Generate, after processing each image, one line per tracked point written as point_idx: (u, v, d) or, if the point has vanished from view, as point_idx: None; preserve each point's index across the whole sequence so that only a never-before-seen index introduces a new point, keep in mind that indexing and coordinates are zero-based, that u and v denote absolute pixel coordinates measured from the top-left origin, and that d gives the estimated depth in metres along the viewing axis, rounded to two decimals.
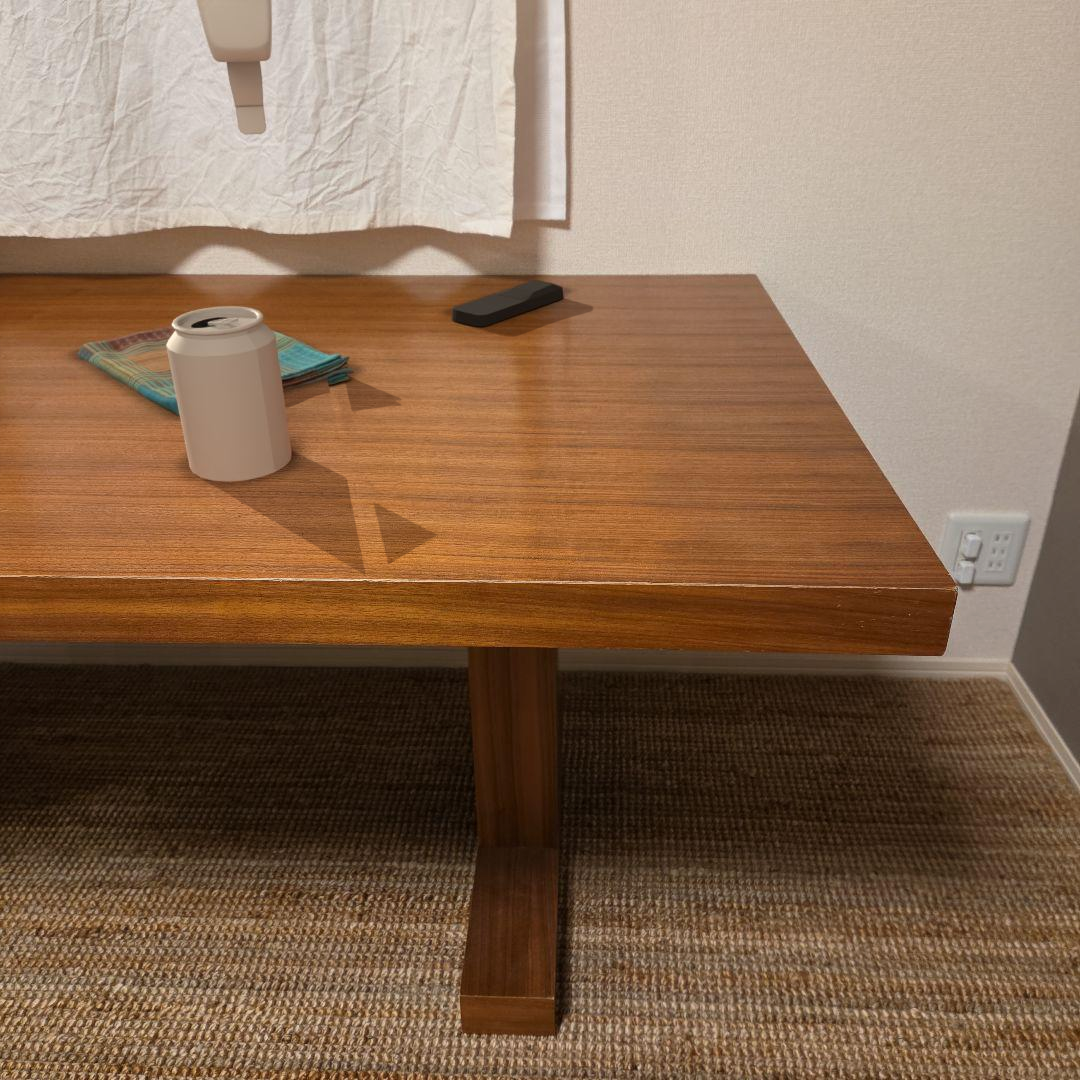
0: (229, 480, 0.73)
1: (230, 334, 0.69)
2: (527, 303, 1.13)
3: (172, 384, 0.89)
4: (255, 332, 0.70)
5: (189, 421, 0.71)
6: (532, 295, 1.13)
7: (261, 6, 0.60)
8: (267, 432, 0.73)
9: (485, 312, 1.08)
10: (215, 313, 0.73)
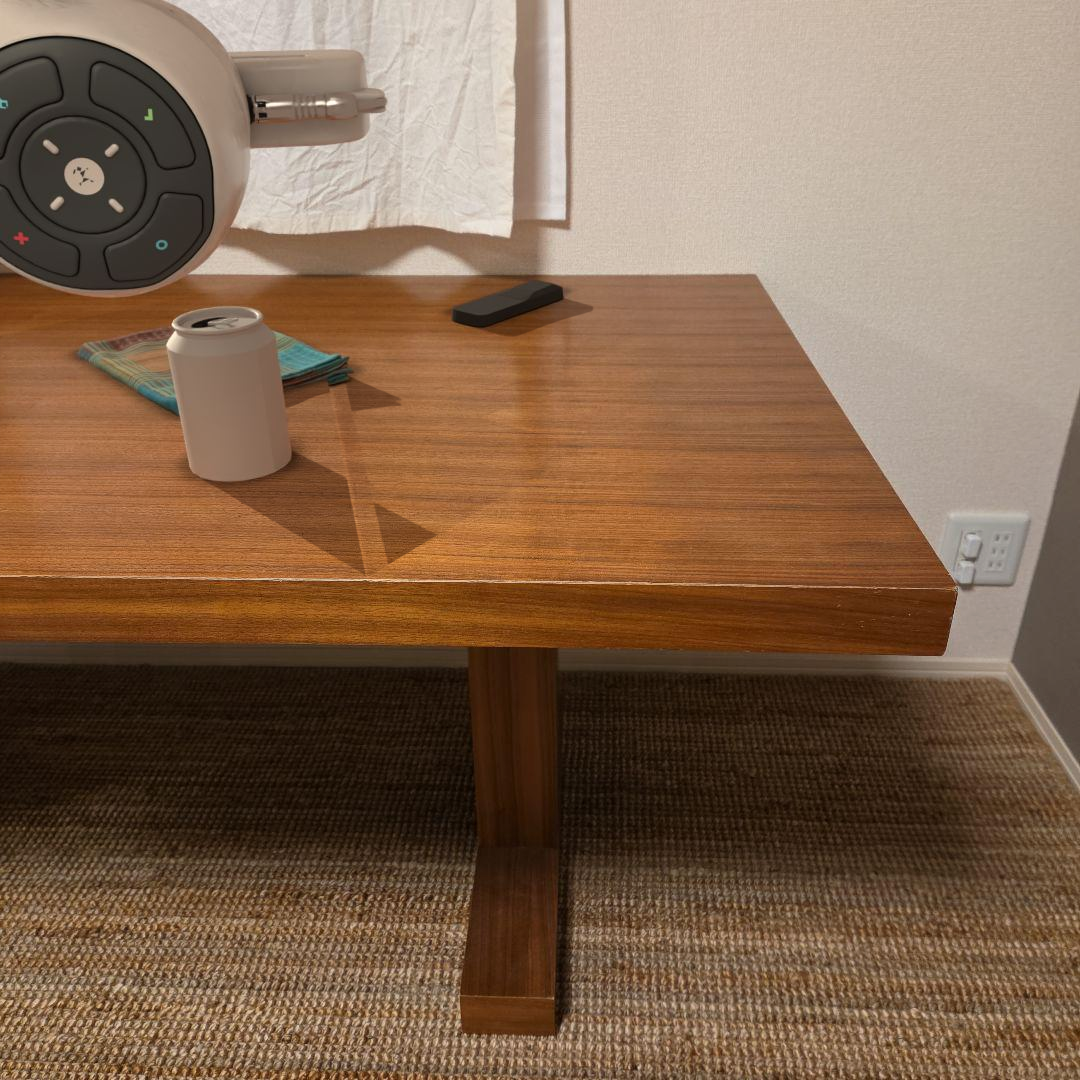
0: (229, 480, 0.73)
1: (230, 334, 0.69)
2: (527, 303, 1.13)
3: (172, 384, 0.89)
4: (255, 332, 0.70)
5: (189, 421, 0.71)
6: (532, 295, 1.13)
7: None
8: (267, 432, 0.73)
9: (485, 312, 1.08)
10: (215, 313, 0.73)
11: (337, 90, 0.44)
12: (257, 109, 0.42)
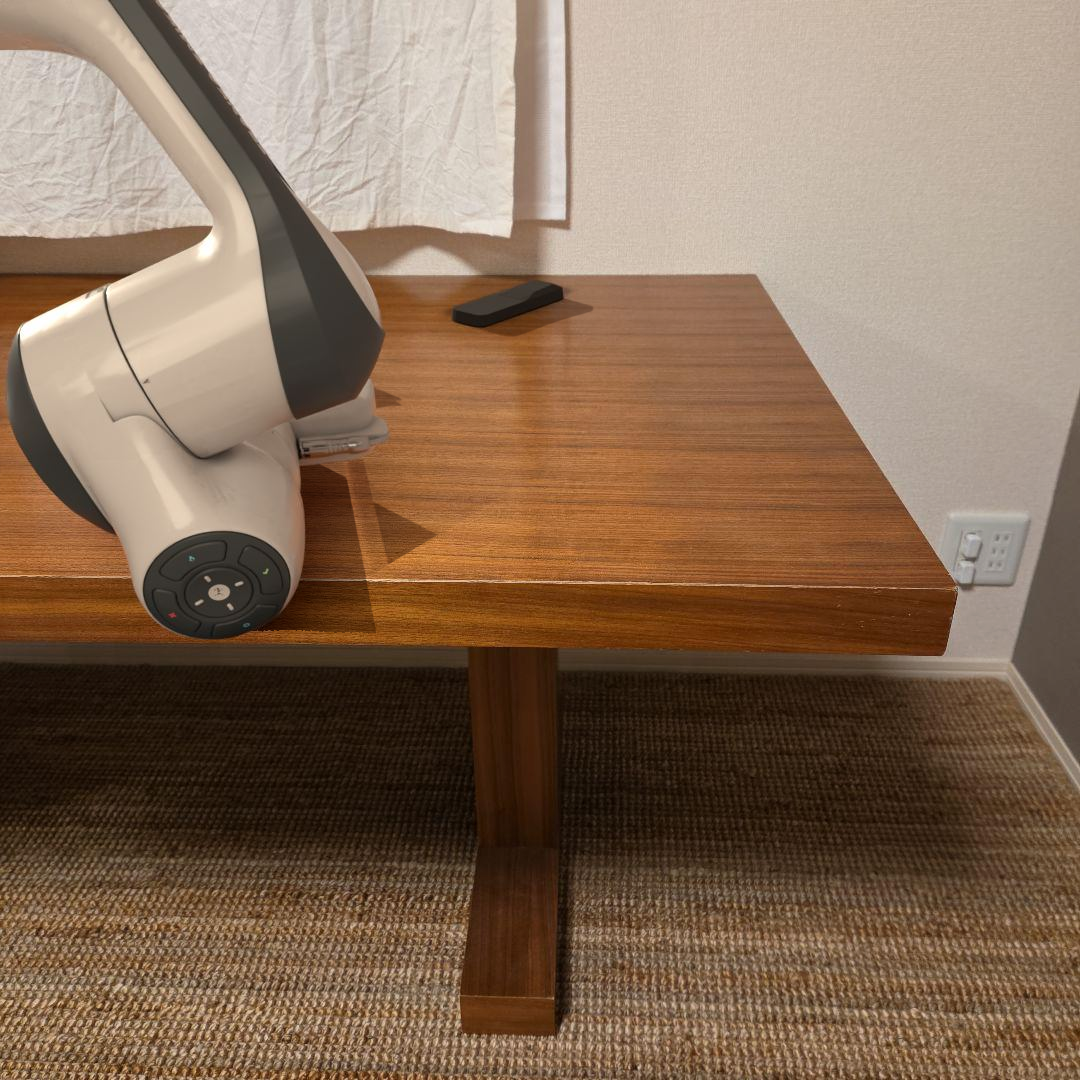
0: None
1: None
2: (527, 303, 1.13)
3: None
4: None
5: None
6: (532, 295, 1.13)
7: None
8: None
9: (485, 312, 1.08)
10: None
11: (356, 429, 0.66)
12: (303, 453, 0.63)
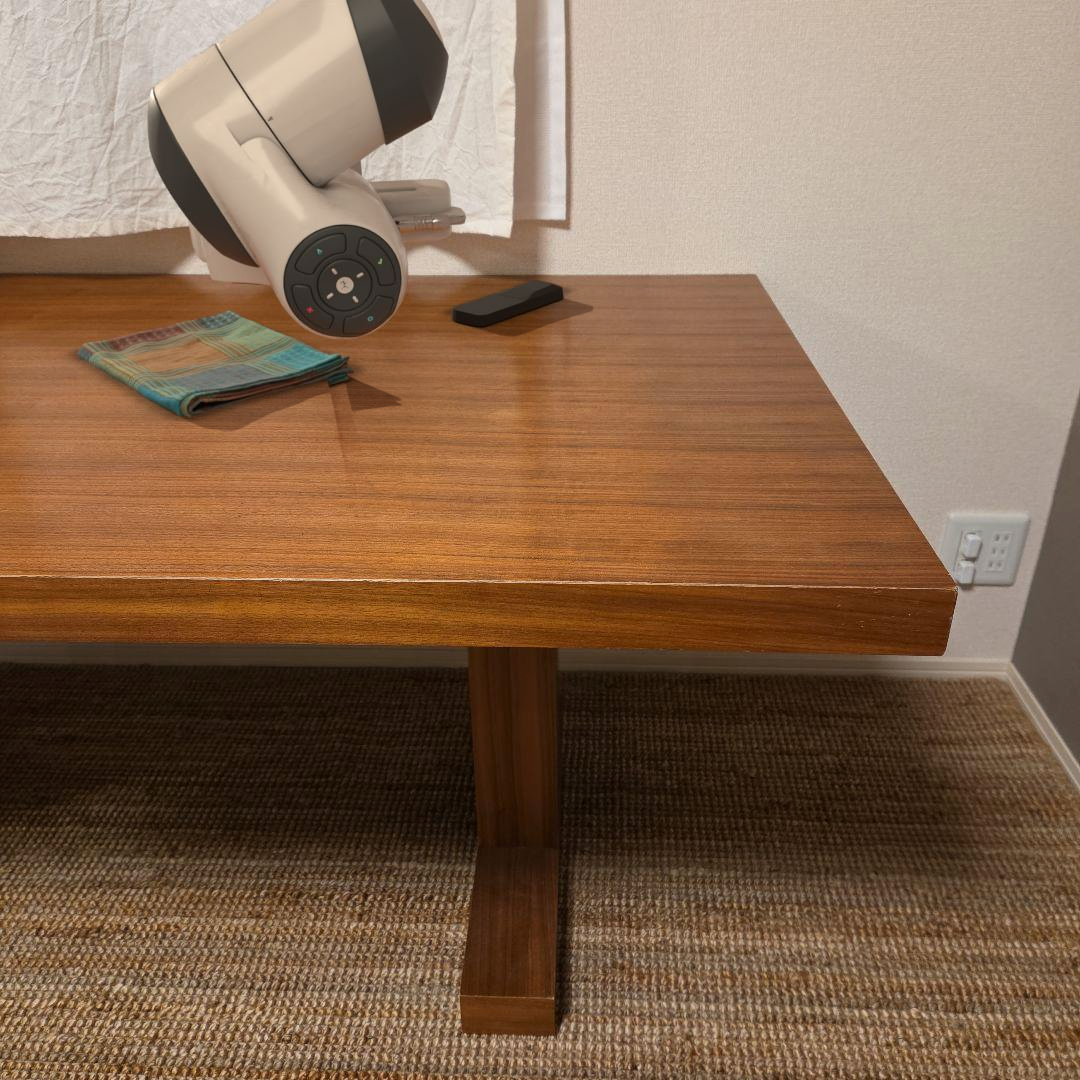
0: None
1: None
2: (527, 303, 1.13)
3: (172, 384, 0.89)
4: None
5: None
6: (532, 295, 1.13)
7: None
8: None
9: (485, 312, 1.08)
10: None
11: (437, 211, 0.75)
12: None
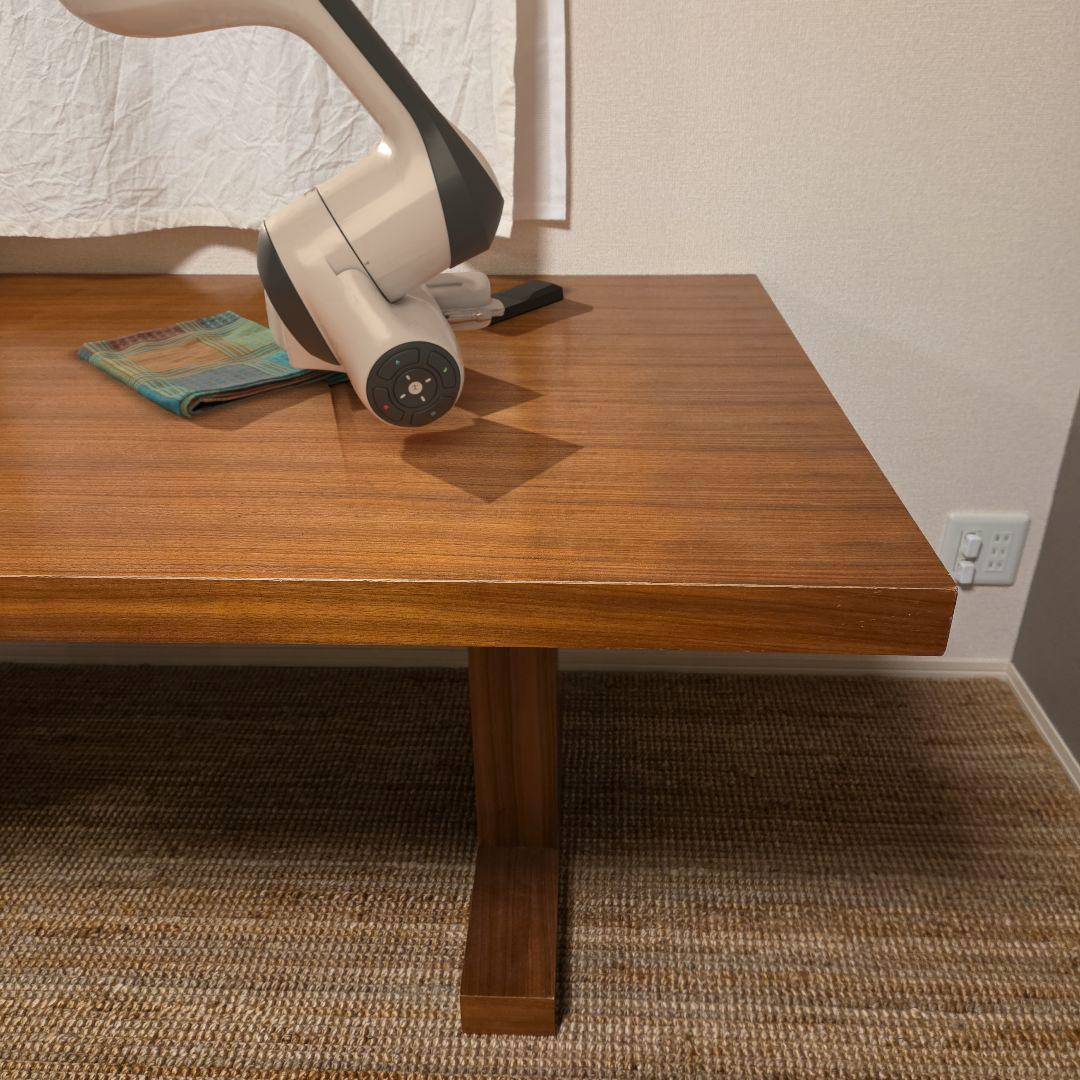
0: None
1: None
2: (527, 303, 1.13)
3: (172, 384, 0.89)
4: None
5: None
6: (532, 295, 1.13)
7: (270, 330, 0.89)
8: None
9: None
10: None
11: (480, 305, 0.88)
12: None
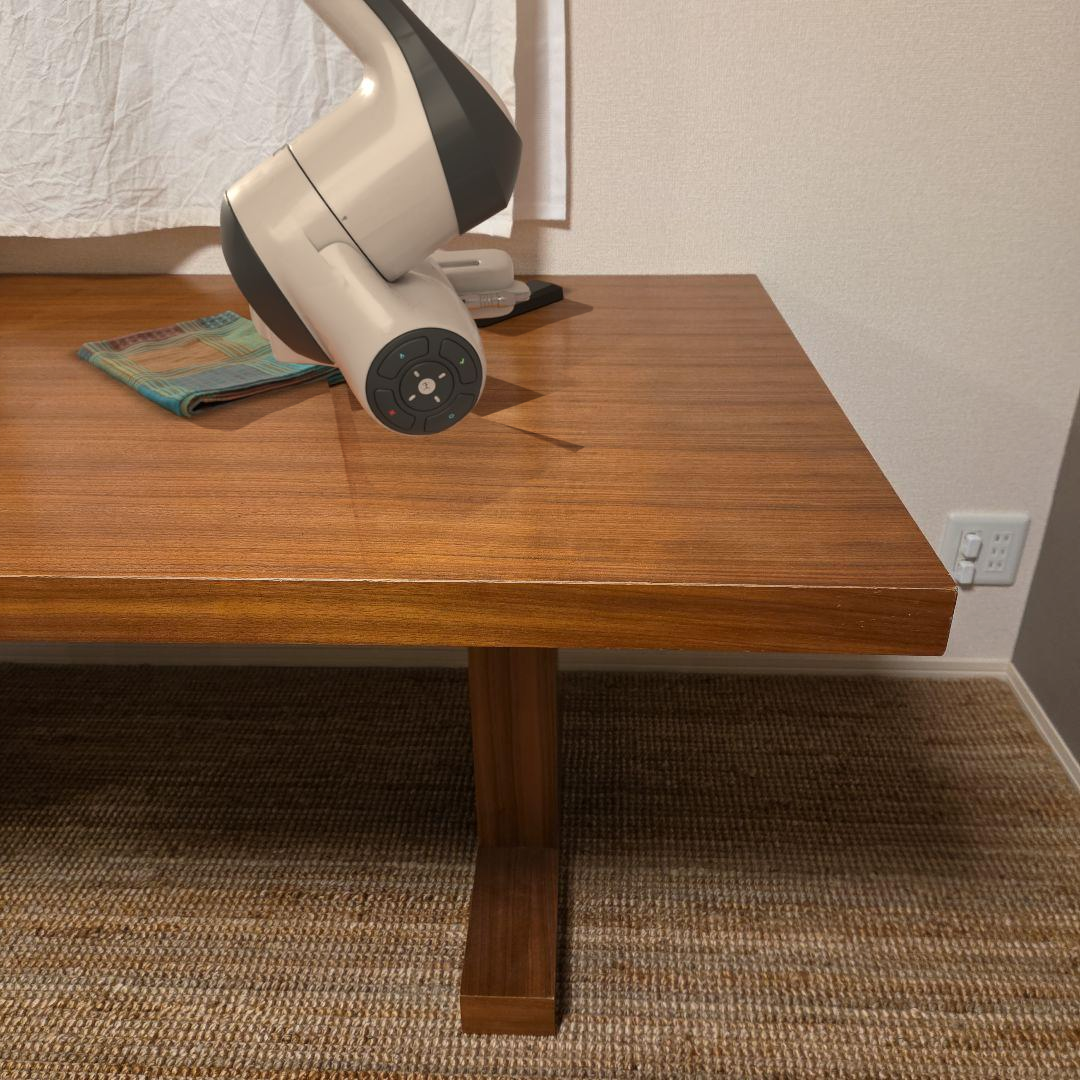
0: None
1: None
2: (527, 303, 1.13)
3: (172, 384, 0.89)
4: None
5: None
6: (532, 295, 1.13)
7: (251, 317, 0.75)
8: None
9: None
10: None
11: (501, 287, 0.74)
12: None
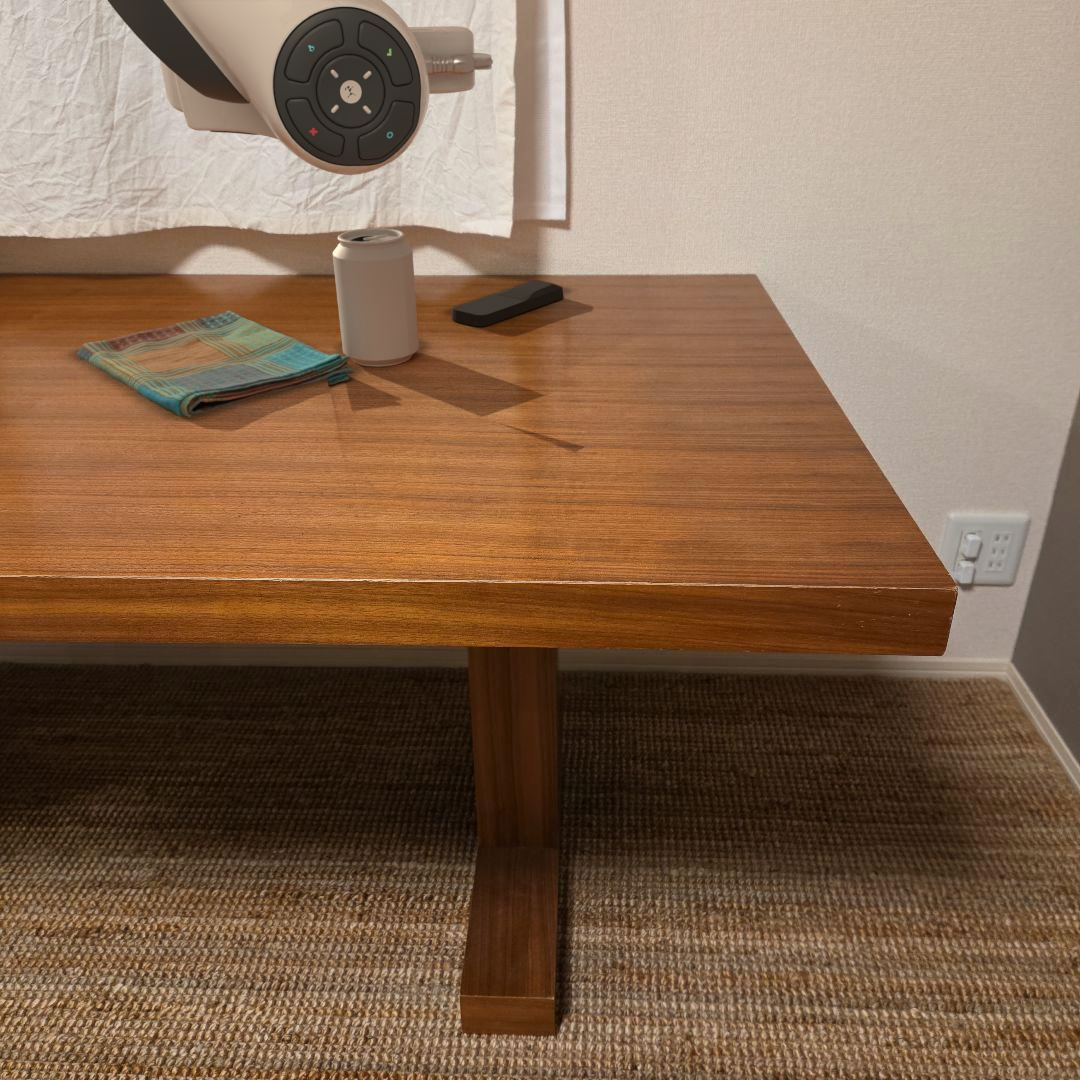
0: (376, 359, 0.96)
1: (383, 245, 0.92)
2: (527, 303, 1.13)
3: (172, 384, 0.89)
4: (400, 245, 0.93)
5: (349, 313, 0.95)
6: (532, 295, 1.13)
7: None
8: (405, 322, 0.96)
9: (485, 312, 1.08)
10: (365, 233, 0.96)
11: (458, 53, 0.63)
12: None
